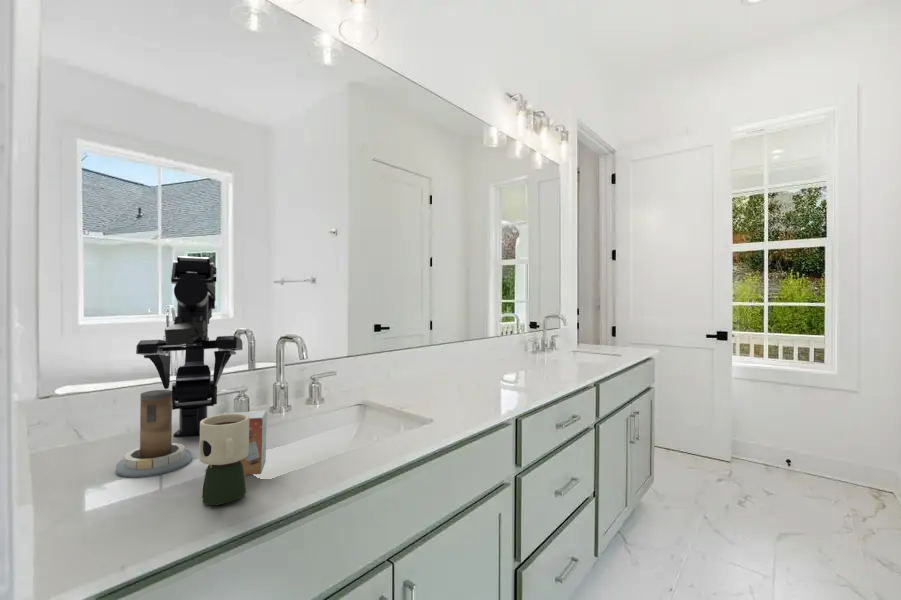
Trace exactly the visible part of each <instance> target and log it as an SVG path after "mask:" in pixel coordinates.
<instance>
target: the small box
mask: <svg viewBox="0 0 901 600" xmlns="http://www.w3.org/2000/svg"><path fill="white" fill-rule="evenodd" d="M222 414H245V415H248V416H249V453H248V456H247V457H246V458H244V459H242V460H240V461H241V463H242V465H243V470H244V476H247V475H249V476H250V475H261V474H262V473H263V469H264V468H265V464H266V462H267V460H266V458H267V457H266V456H267V423H268V422H267V419H268V418H267V416H268V410H266V409H265V410H264V409H263V410H254V411H236V412H235V411H233V412H232V411H231V412H228V411H226V412H225V411H224V412H222V413H221V414H220V415H222Z"/></svg>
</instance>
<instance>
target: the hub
mask: <svg viewBox="0 0 901 600" xmlns="http://www.w3.org/2000/svg"><path fill="white" fill-rule="evenodd" d="M192 455H193V453H192V452H191V451H190V450H189V449H186V446H185V445H184V444H183V443H176V442H172V443H171V454H169V455H166V456H162V457H157V458H149V459H140V447H138V448H135V449H132V450H129V451H128V452H127V453H125V454H124V455H123V459H121V460H119V461H118V462H117V463H116V464H115V473H116V474H117V475H118V476H120V477H124V478H146V477H147V478H148V477H153V476H159V475H164V474H167V473H171V472H175V471H177V470H179V469H181V468H183V467H186V466H187V465H189V464H190V463H191V462H192V458H193V457H192Z"/></svg>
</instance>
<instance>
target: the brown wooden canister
mask: <svg viewBox="0 0 901 600" xmlns="http://www.w3.org/2000/svg"><path fill="white" fill-rule="evenodd" d="M139 406H140V411H139V412H140V413H139V414H140V419H139V420H140V421H139V423H140V424H139V426H140V427H139V432H140V433H139V448H140V459H149V458H157V457H162V456H166V455H169V454H171V443H173V442H172V436H173V435H172V433H173V431H172V429H173V428H172V425H173V424H172V423H173V420H172V418H173V417H172V416H173V410H172V389H171V390H170V389H156V390H155V389H154V390H149V391H144V392H141V393H140V405H139Z"/></svg>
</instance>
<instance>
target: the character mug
mask: <svg viewBox="0 0 901 600" xmlns="http://www.w3.org/2000/svg"><path fill="white" fill-rule="evenodd" d="M221 414H222V413H221ZM221 414H217V415H212V416H207V418H205V419H203V420H201V421H200V435H199V443H198V445H199V446H198V450H199V451H198V452H199V457H198V458H199V462H200V463H202V464H204V465H208V466H207V467H206V469H205V475H204V481H203V484H202V485H203V487H202V494H201V499H202V503H203V504H205V505H207V506H219V505H221V504H222V505H223V504H227V503H229V502H231V501H235V500H238V499H240V498H241V497H244V496H245V495H246V493H247V489H246V479H245V475H244V470H243V465H242V463H241V461H240V460H242V459H244V458H246V457H247V456H248V453H249V416H248V415H245V414H222V415H221ZM226 502H227V503H226Z"/></svg>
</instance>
